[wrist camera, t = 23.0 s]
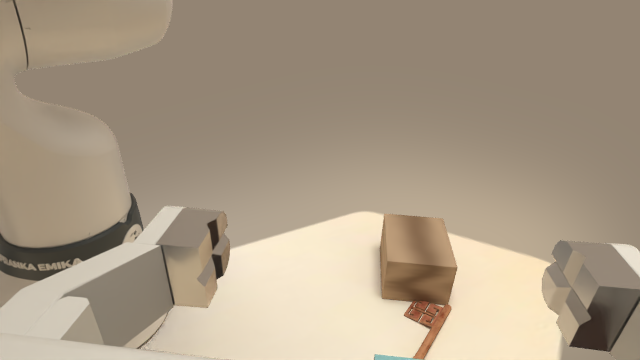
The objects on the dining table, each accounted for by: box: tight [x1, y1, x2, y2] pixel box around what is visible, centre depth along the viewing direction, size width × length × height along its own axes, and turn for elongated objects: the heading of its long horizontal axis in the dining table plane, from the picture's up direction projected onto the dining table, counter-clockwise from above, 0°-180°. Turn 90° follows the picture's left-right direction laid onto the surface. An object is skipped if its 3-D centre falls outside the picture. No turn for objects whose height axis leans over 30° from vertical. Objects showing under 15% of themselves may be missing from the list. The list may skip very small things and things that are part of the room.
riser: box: [380, 214, 457, 305], centre depth 51 cm, size 8×10×6 cm
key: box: [404, 301, 451, 360], centre depth 42 cm, size 6×1×15 cm
